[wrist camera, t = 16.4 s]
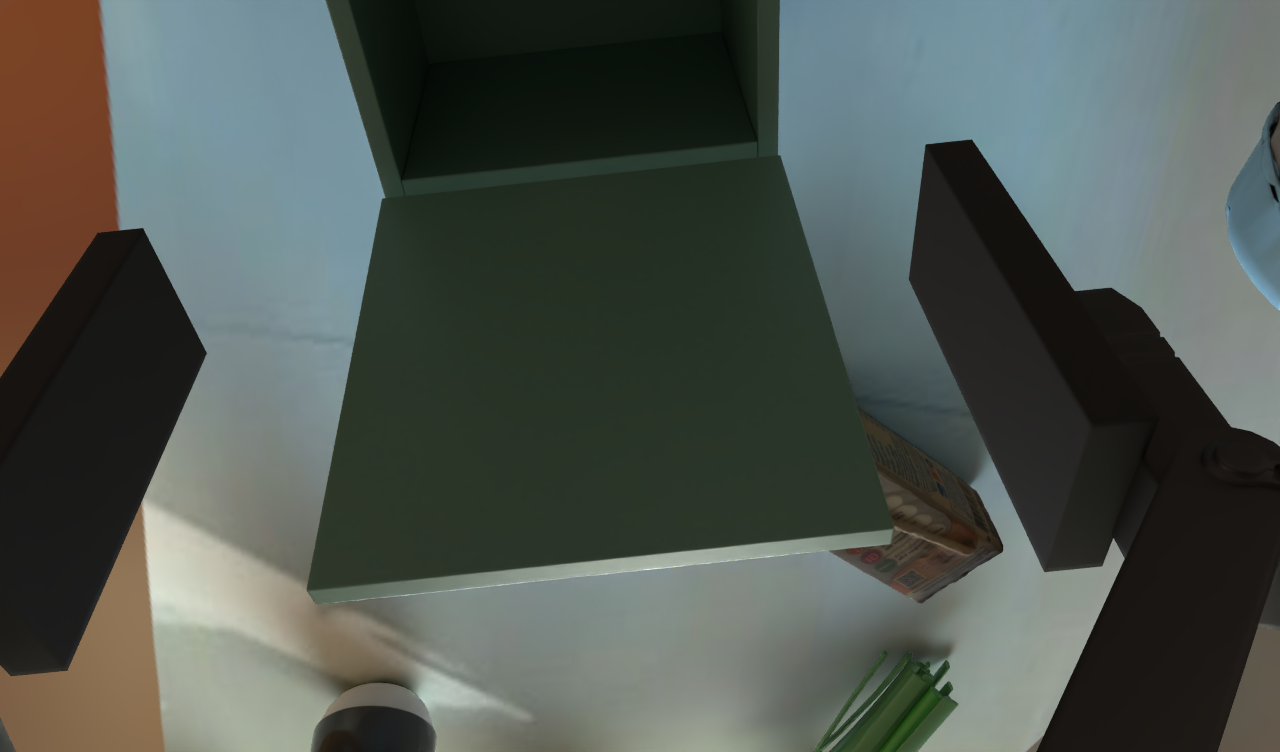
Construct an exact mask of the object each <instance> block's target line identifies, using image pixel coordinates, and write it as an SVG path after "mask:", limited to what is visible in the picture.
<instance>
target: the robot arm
mask: <svg viewBox="0 0 1280 752" xmlns="http://www.w3.org/2000/svg"><path fill="white" fill-rule="evenodd" d="M1226 216H1227V221H1228V237H1229V240H1230V243H1231V246H1232V248H1233V250H1234V252H1235V255H1236V257H1237V259H1238V261H1239V262H1240V264H1241V266H1242V267H1243V269H1244V270H1245V272H1246V273H1247V275H1248V276H1249V278H1250V279H1251V280H1252V282H1253V283H1254V284H1255V285H1256V287H1257V288H1258V289H1259V290H1260V291H1261V292H1262V294H1263V295H1264V296H1265V297H1266V298H1267V299H1268V300H1269V301H1270V302H1271V303H1272V304H1273V305H1274V306H1275V307H1276V308H1277V309H1278V310H1279V311H1280V102H1278V103H1277V104H1276V105H1275V107H1274V108H1273V109H1272V111H1271V112H1270V114H1269V115H1268V117H1267V119H1266V122H1265V124H1264V127H1263V132H1262V138H1261V139H1260V141H1259V142H1258V144H1257V146H1256V147H1255V149H1254V151H1253V152H1252V154H1251V155H1250V157H1249V159H1248V160H1247V162H1246V164H1245V165H1244V167H1243V168H1242V170H1241V172H1240V173H1239V175H1238V176H1237V178H1236V180H1235V182H1234V183H1233V185H1232V187H1231V189H1230V192H1229V195H1228V198H1227V203H1226ZM909 281H910V283H911V285H912V287H913V290H914V292H915V294H916V296H917V298H918V300H919V303H920V305H921V307H922V309H923V311H924V313H925V316H926V318H927V320H928V322H929V324H930V326H931V328H932V331H933V333H934V335H935V337H936V339H937V341H938V344H939V346H940V348H941V350H942V352H943V354H944V357H945V359H946V361H947V363H948V365H949V367H950V369H951V372H952V374H953V376H954V378H955V380H956V382H957V385H958V387H959V389H960V391H961V393H962V395H963V398H964V400H965V402H966V404H967V406H968V408H969V410H970V413H971V415H972V417H973V419H974V421H975V423H976V426H977V428H978V430H979V432H980V434H981V436H982V439H983V441H984V443H985V445H986V447H987V449H988V451H989V454H990V456H991V458H992V460H993V462H994V464H995V467H996V469H997V471H998V473H999V475H1000V477H1001V480H1002V482H1003V484H1004V486H1005V488H1006V490H1007V492H1008V495H1009V497H1010V499H1011V501H1012V503H1013V505H1014V508H1015V510H1016V512H1017V514H1018V516H1019V518H1020V521H1021V523H1022V525H1023V527H1024V529H1025V531H1026V533H1027V536H1028V538H1029V540H1030V542H1031V544H1032V546H1033V549H1034V551H1035V553H1036V555H1037V557H1038V559H1039V562H1040V564H1041V566H1042V568H1043V570H1044V572H1050V571H1060V570H1070V569H1080V568H1090V567H1100V566H1102V565H1103V563H1104V560H1105V558H1106V555H1107V553H1108V550H1109V547H1110V545H1111V542H1112V540H1113V538H1114V539H1115V541H1116V543H1117V545H1118V547H1119V549H1120V550H1121V552H1122V554H1123V556H1124V558H1125V560H1124V562H1123V564H1122V566H1121V568H1120V570H1119V573H1118V575H1117V577H1116V579H1115V581H1114V584H1113V586H1112V588H1111V590H1110V592H1109V595H1108V597H1107V599H1106V601H1105V603H1104V605H1103V608H1102V610H1101V612H1100V614H1099V616H1098V619H1097V621H1096V623H1095V625H1094V627H1093V630H1092V632H1091V634H1090V636H1089V638H1088V640H1087V643H1086V645H1085V647H1084V649H1083V651H1082V654H1081V656H1080V658H1079V660H1078V662H1077V664H1076V667H1075V669H1074V671H1073V673H1072V675H1071V678H1070V680H1069V682H1068V684H1067V686H1066V689H1065V691H1064V693H1063V695H1062V697H1061V699H1060V702H1059V704H1058V706H1057V708H1056V710H1055V713H1054V715H1053V717H1052V719H1051V721H1050V723H1049V726H1048V728H1047V730H1046V732H1045V734H1044V737H1043V739H1042V741H1041V743H1040V745H1039V748H1038V750H1037V752H1217V751H1218V748H1219V745H1220V742H1221V739H1222V735H1223V733H1224V730H1225V727H1226V723H1227V720H1228V717H1229V714H1230V711H1231V708H1232V705H1233V702H1234V699H1235V696H1236V692H1237V689H1238V686H1239V683H1240V680H1241V677H1242V674H1243V670H1244V668H1245V665H1246V661H1247V658H1248V655H1249V652H1250V649H1251V646H1252V643H1253V640H1254V636H1255V634H1256V630H1257V627H1258V626H1259V627H1265V628H1270V629H1276V630H1280V447H1279V446H1278V445H1277V444H1276V443H1274V442H1273V441H1270V440H1268V439H1266V438H1264V437H1262V436H1260V435H1258V434H1255V433H1253V432H1251V431H1246V430H1242V429H1237V428H1233V427H1231V426H1230V425H1229V424H1228V422H1227V421H1226V420H1225V418H1224V417H1223V416H1222V414H1221V413H1220V412H1219V410H1218V409H1217V408H1216V406H1215V405H1214V404H1213V402H1212V401H1211V400H1210V398H1209V397H1208V396H1207V394H1206V393H1205V392H1204V390H1203V389H1202V388H1201V386H1200V385H1199V384H1198V382H1197V381H1196V380H1195V378H1194V377H1193V376H1192V374H1191V373H1190V372H1189V370H1188V369H1187V368H1186V366H1185V365H1184V364H1183V362H1182V361H1181V360H1180V358H1179V357H1175V352H1174V350H1173V349H1172V348H1171V346H1170V345H1169V344H1168V342H1167V341H1166V340H1165V338H1164V337H1160V332H1159V330H1158V329H1157V328H1156V326H1155V325H1154V324H1153V322H1152V321H1151V320H1150V318H1149V317H1148V316H1147V314H1146V313H1145V312H1144V310H1143V309H1142V308H1141V307H1140V306H1138V305H1137V304H1135V303H1134V302H1132V301H1131V300H1129V299H1128V298H1126V297H1125V296H1123V295H1122V294H1120V293H1118V292H1117V291H1115V290H1114V289H1112V288H1103V289H1093V290H1083V291H1074V290H1073V288H1072V287H1071V285H1070V284H1069V282H1068V281H1067V279H1066V278H1065V277H1064V275H1063V274H1062V272H1061V271H1060V269H1059V268H1058V266H1057V265H1056V263H1055V262H1054V260H1053V259H1052V257H1051V256H1050V254H1049V253H1048V251H1047V250H1046V248H1045V247H1044V245H1043V244H1042V242H1041V241H1040V240H1039V238H1038V237H1037V235H1036V234H1035V232H1034V231H1033V229H1032V228H1031V226H1030V225H1029V223H1028V222H1027V220H1026V219H1025V217H1024V216H1023V214H1022V213H1021V211H1020V210H1019V208H1018V207H1017V206H1016V204H1015V203H1014V201H1013V200H1012V198H1011V197H1010V195H1009V194H1008V192H1007V191H1006V189H1005V188H1004V186H1003V185H1002V183H1001V182H1000V180H999V179H998V177H997V176H996V174H995V173H994V171H993V170H992V169H991V167H990V166H989V164H988V163H987V161H986V160H985V158H984V157H983V155H982V154H981V152H980V151H979V149H978V148H977V146H976V145H975V143H974V142H973V140H963V141H954V142H944V143H935V144H926V146H925V154H924V162H923V170H922V178H921V186H920V194H919V202H918V210H917V218H916V226H915V234H914V242H913V250H912V258H911V266H910V274H909ZM206 354H207V353H206V351H205V349H204V347H203V345H202V343H201V341H200V339H199V337H198V335H197V333H196V331H195V329H194V327H193V325H192V323H191V321H190V319H189V317H188V315H187V313H186V311H185V309H184V307H183V306H182V304H181V302H180V300H179V298H178V296H177V294H176V292H175V290H174V288H173V286H172V284H171V282H170V280H169V278H168V276H167V274H166V272H165V270H164V268H163V266H162V264H161V262H160V261H159V259H158V257H157V255H156V253H155V251H154V249H153V247H152V245H151V243H150V241H149V239H148V237H147V235H146V233H145V231H144V229H143V228H139V229H130V230H120V231H111V232H102V233H97V235H96V236H95V238H94V239H93V241H92V242H91V244H90V245H89V247H88V248H87V250H86V251H85V253H84V254H83V256H82V257H81V259H80V260H79V262H78V263H77V265H76V266H75V268H74V269H73V271H72V272H71V274H70V275H69V276H68V278H67V279H66V281H65V283H64V284H63V285H62V287H61V288H60V290H59V291H58V293H57V294H56V296H55V297H54V299H53V300H52V302H51V303H50V305H49V306H48V308H47V309H46V311H45V312H44V314H43V315H42V317H41V318H40V320H39V321H38V323H37V324H36V325H35V327H34V329H33V330H32V332H31V333H30V334H29V336H28V337H27V339H26V340H25V342H24V344H23V345H22V347H21V348H20V350H19V351H18V352H17V354H16V355H15V357H14V358H13V360H12V361H11V363H10V364H9V366H8V367H7V369H6V370H5V372H4V373H3V375H2V376H1V378H0V665H1V666H2V667H3V668H4V669H5V670H6V671H7V672H8V674H10V676H18V675H28V674H37V673H48V672H58V671H67V670H68V668H69V666H70V663H71V661H72V659H73V656H74V654H75V652H76V650H77V647H78V645H79V643H80V641H81V638H82V636H83V634H84V631H85V629H86V627H87V625H88V622H89V620H90V618H91V615H92V613H93V611H94V609H95V606H96V604H97V601H98V600H99V597H100V595H101V593H102V590H103V588H104V586H105V584H106V581H107V579H108V577H109V575H110V572H111V570H112V568H113V566H114V563H115V561H116V559H117V556H118V554H119V552H120V550H121V547H122V545H123V543H124V541H125V538H126V536H127V534H128V531H129V529H130V527H131V525H132V522H133V520H134V518H135V515H136V513H137V511H138V509H139V506H140V504H141V502H142V500H143V497H144V495H145V493H146V491H147V488H148V486H149V484H150V481H151V479H152V477H153V475H154V472H155V470H156V468H157V465H158V463H159V461H160V459H161V456H162V454H163V452H164V450H165V447H166V445H167V443H168V440H169V438H170V436H171V434H172V431H173V429H174V427H175V425H176V422H177V420H178V418H179V415H180V413H181V411H182V409H183V406H184V404H185V402H186V400H187V397H188V395H189V393H190V390H191V388H192V386H193V384H194V381H195V379H196V377H197V375H198V372H199V370H200V368H201V365H202V363H203V361H204V359H205V356H206ZM0 752H16V751H15V749H14V747H13V744H12V742H11V740H10V738H9V736H8V734H7V731H6V730H5V727H4V725H3V723H2V721H1V718H0Z"/></svg>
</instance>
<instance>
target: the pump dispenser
mask: <svg viewBox="0 0 1280 752" xmlns="http://www.w3.org/2000/svg"><path fill="white" fill-rule="evenodd" d="M435 750H436V733H435V730H434V728H433V726H432V721H431V717H430V714H429V712H428V710H427V708H426V706H425V704H424V703H423V702H422V700H421V699H420V698H419V697H418V696H417V695H415V694H414V693H413V692H411V691H410V690H408V689H406V688H404V687H401V686H398V685H394V684H389V683H368V684H363V685H359V686H357V687H354V688H351V689H350V690H348V691H346V692H344V693H343V694H341V695H340V696H339V697H338V698H337V699H336V700H335V701H334V702H333V703H332V704H331V705H330V706H329V708H328V709H327V711H326V712H325V714H324V716H323V718H322V720H321V721H320V722H319V723H318V724H317V726H316V728H315V730H314V733H313V738H312V743H311V752H435Z"/></svg>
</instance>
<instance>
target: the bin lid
mask: <svg viewBox="0 0 1280 752" xmlns="http://www.w3.org/2000/svg"><path fill="white" fill-rule="evenodd" d="M893 532H894V524H893V521H892V518H891V515H890V511H889V508H888V505H887V502H886V498H885V495H884V492H883V489H882V485H881V482H880V479H879V476H878V472H877V469H876V466H875V462H874V459H873V456H872V453H871V449H870V446H869V443H868V440H867V436H866V433H865V430H864V427H863V423H862V420H861V417H860V414H859V410H858V407H857V404H856V401H855V397H854V394H853V391H852V388H851V384H850V381H849V378H848V374H847V371H846V368H845V365H844V361H843V358H842V355H841V352H840V348H839V345H838V342H837V339H836V335H835V332H834V329H833V326H832V322H831V319H830V316H829V313H828V309H827V306H826V303H825V300H824V296H823V293H822V290H821V286H820V283H819V280H818V277H817V273H816V270H815V267H814V264H813V260H812V257H811V254H810V251H809V247H808V244H807V241H806V238H805V234H804V231H803V228H802V225H801V221H800V218H799V215H798V212H797V208H796V205H795V202H794V198H793V195H792V192H791V189H790V185H789V182H788V179H787V176H786V172H785V169H784V166H783V163H782V159H781V156H780V155H776V156H767V157H758V158H749V159H740V160H730V161H721V162H712V163H703V164H694V165H685V166H676V167H667V168H657V169H648V170H639V171H630V172H621V173H612V174H603V175H593V176H584V177H575V178H566V179H557V180H548V181H539V182H530V183H520V184H511V185H502V186H493V187H484V188H475V189H466V190H457V191H447V192H438V193H429V194H420V195H411V196H402V197H393V198H383V199H382V202H381V207H380V212H379V218H378V223H377V228H376V233H375V238H374V243H373V249H372V254H371V259H370V264H369V269H368V275H367V280H366V285H365V290H364V295H363V300H362V306H361V311H360V316H359V321H358V326H357V331H356V337H355V342H354V347H353V352H352V357H351V362H350V368H349V373H348V378H347V383H346V388H345V394H344V399H343V404H342V409H341V414H340V419H339V425H338V430H337V435H336V440H335V445H334V450H333V456H332V461H331V466H330V471H329V476H328V481H327V487H326V492H325V497H324V502H323V507H322V513H321V518H320V523H319V528H318V533H317V538H316V544H315V549H314V554H313V559H312V564H311V569H310V575H309V580H308V585H307V592H308V593H309V595H310V596H311V598H312V599H313V601H314V602H315V604H327V603H337V602H346V601H356V600H365V599H375V598H384V597H394V596H403V595H413V594H422V593H431V592H441V591H450V590H460V589H469V588H479V587H488V586H498V585H507V584H517V583H526V582H536V581H545V580H554V579H564V578H573V577H583V576H592V575H602V574H611V573H621V572H630V571H640V570H649V569H659V568H668V567H678V566H687V565H696V564H706V563H715V562H725V561H734V560H744V559H753V558H763V557H772V556H782V555H791V554H801V553H810V552H819V551H829V550H838V549H848V548H857V547H867V546H876V545H886V544H891V542H892V537H893Z"/></svg>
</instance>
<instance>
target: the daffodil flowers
mask: <svg viewBox="0 0 1280 752" xmlns="http://www.w3.org/2000/svg"><path fill="white" fill-rule="evenodd" d="M887 654H888V653H887V651H886V650H885V651H884V652H883V653H882V654H881V656H880V657H879V659H878V660H877V661H876V663H875V664H874V665H873V667H872V668H871V669H870V671H869V672H868V673H867V675H866V676H865V678H864V679H863V680H862V682H861V683H860V684H859V686H858V687H857V688H856V690H855V691H854V693H853V694H852V696H851V697H850V698H849V700H848V701H847V703H846V704H845V706H844V707H843V709H842V710H841V712H840V713H839V715H838V716H837V718H836V719H835V721H834V722H833V723H832V725H831V726H830V728H829V729H828V731H827V732H826V734H825V735H824V737H823V738H822V740H821V741H820V742H819V744H818V745H817V747H816V748H815V750H814V751H813V752H821V751H823V750H824V749H825V748H826V747H827V746H828V745H829V744H830V743H831V742H833V741H834V740H835V739H836V738H837V737H838V736H839V735H840V734H842V733H843V732H844V731H845V730H846V729H847V728H848V727H849V726H850V725H851V724H852V723H853V722H854V721H855V719H856V718H857V717H858V716H859V715H860V714H861V713H862V712H863V711H864V710H865V709H866V708H867V707H868V706H869V705H870V704H871V703H872V702H873V701H874V700H875V699H876V698H877V697H878V696H879V695H880V694H881V692H882V691H883V690H884V689H885V688H886V687H887V685H888V684H889V683H890V682H891V681H892V680H893V678H894V677H895V676H896V675H897V674H898V673H899V671H900V670H901V669H902V668H903V667H904V666H905V665H906V663H907V662H908V661H909V660H910V659H911V658H912V656H913V654H912V653H911V652H909V653H907V655H906V656H905V657H904V658H903V659H902V660H901V662H900V663H899V664H898V665H897V666H896V667H895V669H894V670H893V671H892V672H891V673H890V674H889V676H888V677H887V678H886V679H885V680H884V681H883V683H882V684H881V685H880V686H879V687H878V689H877V690H876V691H875V692H874V693H873V694H872V695H871V696H870V697H869V698H868V699H867V700H866V701H865V702H864V703H863V705H862V706H861V707H860V708H859V709H858V710H857V711H856V712H855V713H854V714H853V715H852V716H851V717H850V718H849V719H848V720H847V721H846V722H845V723H844V724H843V725H842V726H841V727H840V728H839V729H838V730H837V731H836V732H835V733H834V734H833V735H831V734H832V732H833V731H834V729H835V728H836V726H837V725H838V723H839V722H840V720H841V719H842V717H843V716H844V715H845V713H846V712H847V710H848V709H849V707H850V706H851V704H852V703H853V701H854V700H855V698H856V697H857V695H858V694H859V693H860V691H861V690H862V689H863V687H864V686H865V685H866V683H867V682H868V681H869V679H870V678H871V677H872V675H873V674H874V672H875V671H876V670H877V668H878V667H879V666H880V664H881V663H882V662H883V660H884V659H885V658H886V656H887ZM929 667H930V662H926V664H925V665H924V664H923V663H921V662H919V661H918V662H917V663H915V662H913V661H910V662H909V663H908V664H907V665H906V666H905V668H904V669H903V670H902V671H901V672H900V674H899V675H898V676H897V677H896V678H895V680H894V681H893V682H892V683H891V684H890V686H889V687H888V688H887V689H886V690H885V692H884V693H883V694H882V695H881V696H880V698H879V699H878V700H877V701H876V702H875V703H874V704H873V705H872V707H871V708H870V709H869V710H868V711H867V712H866V713H865V714H864V715H863V717H862V718H861V719H860V720H859V721H858V722H857V723H856V724H855V726H854V727H853V728H852V729H851V730H850V731H849V732H848V733H847V734H846V735H845V736H844V737H843V738H842V739H841V740H840V741H839V742H838V743H837V744H836V745H835V746H834V747H833V748H832V749H831V750H830V751H829V752H918V750H919V749H920V748H921V747H922V746H923V745H924V743H925V742H926V741H927V740H928V739H929V738H930V736H931V735H932V734H933V733H934V732H935V731H936V730H937V728H938V727H939V726H940V725H941V724H942V723H943V722H944V720H945V719H946V718H947V717H948V716H949V715H950V713H951V712H952V711H953V710H954V709H955V708H956V707H957V705H958V703H957V702H955V701H954V700H952V699H951V698H950V697H949V696H948V695H949V694H950V692H951V691H952V690H953V687H952V685H951V683H950V682H949V681H948V682H947V683H946V684H945V685H944V687H943V688H942V689H941V690H940V691H938V690H937V689H935V686H936V685H937V684H938V683H939V681H940V680H941V679H942V677H943V676H944V675H945V674H946V672H947V671H948V670H949V668H950V665H949V662H948V661H947V660H945V662H944V663H943V664H942V666H941V667H940V668H939V670H938V671H937V672H936V673H935V675H934V676H933V675H932V674H930V670H929ZM830 735H831V736H830Z"/></svg>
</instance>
